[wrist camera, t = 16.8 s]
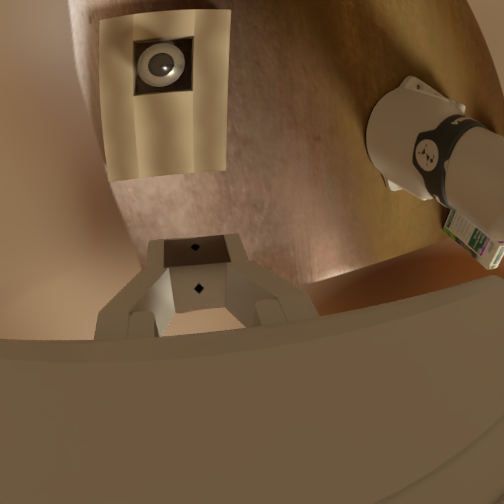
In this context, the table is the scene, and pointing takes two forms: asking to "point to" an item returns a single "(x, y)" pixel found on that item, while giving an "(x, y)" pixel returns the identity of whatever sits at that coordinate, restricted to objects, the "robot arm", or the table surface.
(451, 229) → the syrup box
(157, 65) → the bushing
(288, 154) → the table surface
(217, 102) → the frame
